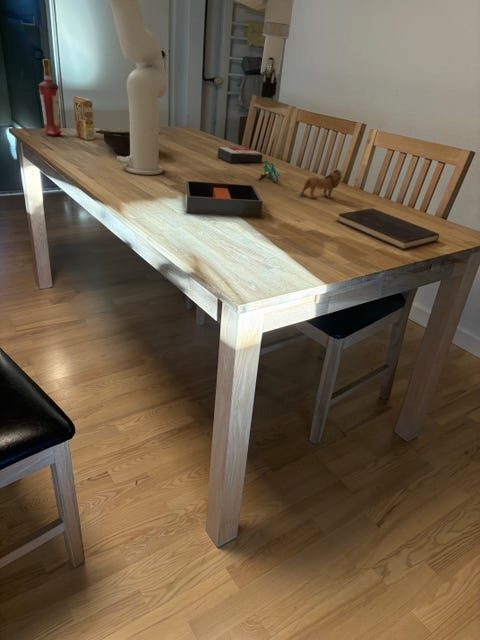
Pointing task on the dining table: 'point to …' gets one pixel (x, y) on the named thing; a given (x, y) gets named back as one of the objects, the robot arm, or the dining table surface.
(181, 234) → the dining table surface
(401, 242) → the hardcover book
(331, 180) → the lion figurine
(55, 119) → the liquor
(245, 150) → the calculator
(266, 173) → the stick construction toy
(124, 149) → the stone bowl
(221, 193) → the orange rectangular block
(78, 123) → the candy box
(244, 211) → the tray
